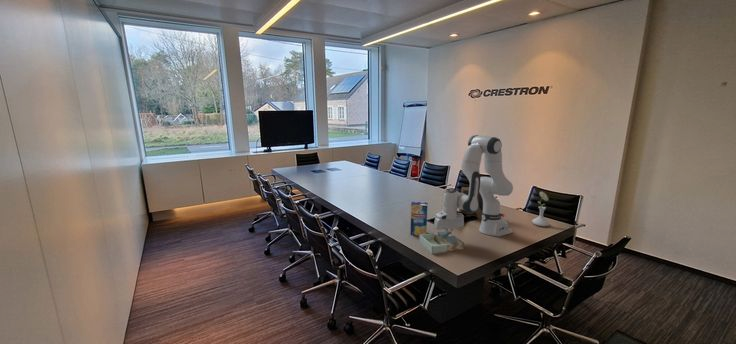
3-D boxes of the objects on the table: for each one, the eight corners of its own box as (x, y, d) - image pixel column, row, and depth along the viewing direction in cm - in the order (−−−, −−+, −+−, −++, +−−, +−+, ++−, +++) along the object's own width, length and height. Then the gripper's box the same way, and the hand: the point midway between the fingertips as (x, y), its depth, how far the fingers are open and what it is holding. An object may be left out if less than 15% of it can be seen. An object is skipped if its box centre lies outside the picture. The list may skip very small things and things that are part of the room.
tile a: (444, 234, 201) (444, 231, 200) (448, 237, 196) (448, 234, 195) (437, 235, 199) (437, 232, 199) (441, 238, 195) (441, 235, 194)
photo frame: (458, 214, 251) (460, 185, 246) (485, 215, 249) (488, 185, 243) (462, 221, 237) (464, 190, 231) (490, 221, 234) (493, 190, 229)
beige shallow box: (450, 238, 204) (450, 233, 203) (463, 248, 189) (464, 242, 188) (434, 240, 201) (434, 235, 200) (446, 251, 186) (446, 245, 185)
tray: (433, 240, 202) (433, 233, 201) (446, 252, 185) (447, 244, 184) (419, 241, 199) (419, 234, 198) (431, 254, 182) (432, 246, 181)
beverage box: (426, 236, 209) (427, 205, 204) (410, 234, 211) (411, 204, 207) (426, 232, 215) (427, 202, 211) (411, 230, 218) (411, 201, 213)
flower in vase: (551, 228, 221) (555, 195, 216) (534, 227, 223) (538, 194, 218) (544, 221, 233) (548, 190, 228) (528, 220, 236) (532, 189, 231)
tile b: (453, 239, 194) (453, 235, 193) (457, 242, 189) (458, 238, 188) (446, 240, 192) (446, 236, 192) (450, 243, 188) (450, 239, 187)
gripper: (461, 211, 201) (460, 230, 204) (433, 214, 196) (432, 234, 199) (466, 214, 195) (465, 234, 198) (438, 217, 190) (437, 237, 193)
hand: (448, 234), depth 198 cm, fingers closed
